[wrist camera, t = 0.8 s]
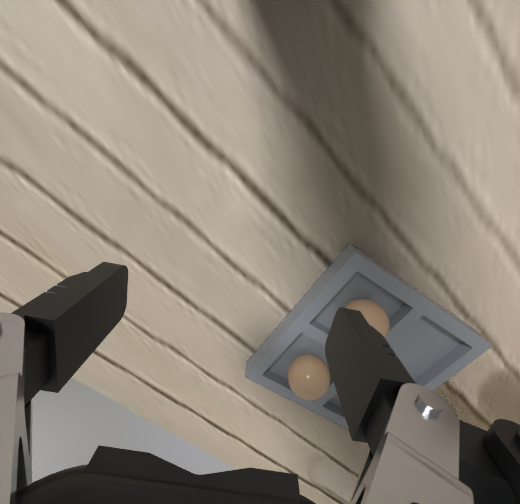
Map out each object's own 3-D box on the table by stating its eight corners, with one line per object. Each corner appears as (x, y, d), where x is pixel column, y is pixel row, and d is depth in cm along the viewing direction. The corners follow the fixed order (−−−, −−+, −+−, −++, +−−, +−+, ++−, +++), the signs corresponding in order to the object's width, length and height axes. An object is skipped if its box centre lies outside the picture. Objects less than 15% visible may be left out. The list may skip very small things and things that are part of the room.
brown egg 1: (301, 338, 33) (307, 371, 28) (333, 356, 34) (344, 391, 29) (278, 364, 35) (280, 398, 30) (309, 380, 36) (315, 416, 31)
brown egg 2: (354, 282, 30) (370, 308, 25) (388, 303, 31) (409, 333, 26) (325, 313, 31) (335, 343, 27) (358, 333, 32) (373, 365, 28)
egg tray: (349, 243, 29) (356, 252, 27) (477, 331, 33) (492, 345, 31) (246, 362, 36) (245, 377, 34) (363, 423, 40) (368, 440, 38)
